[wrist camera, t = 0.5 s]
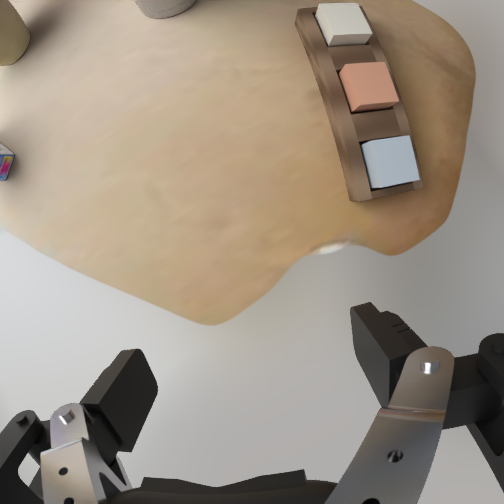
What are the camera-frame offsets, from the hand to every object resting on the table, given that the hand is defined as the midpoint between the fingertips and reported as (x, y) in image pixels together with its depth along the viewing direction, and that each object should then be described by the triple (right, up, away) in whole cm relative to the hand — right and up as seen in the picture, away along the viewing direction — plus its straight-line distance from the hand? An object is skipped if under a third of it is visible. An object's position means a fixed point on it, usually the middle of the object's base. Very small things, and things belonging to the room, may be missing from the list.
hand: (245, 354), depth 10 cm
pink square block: (+13, +23, +19) cm, 32 cm away
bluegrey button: (+16, +14, +20) cm, 29 cm away
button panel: (+13, +23, +22) cm, 34 cm away
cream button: (+11, +31, +17) cm, 37 cm away
